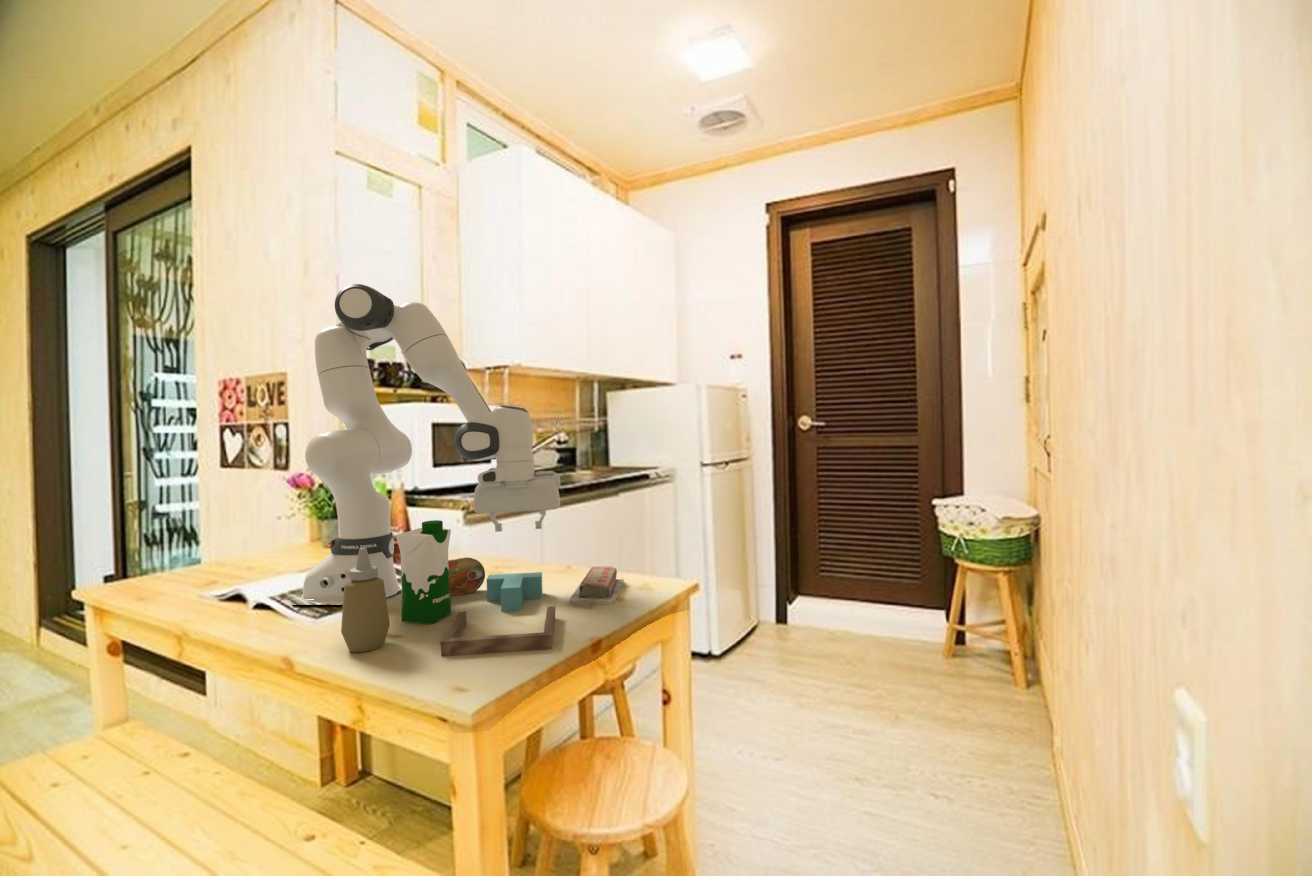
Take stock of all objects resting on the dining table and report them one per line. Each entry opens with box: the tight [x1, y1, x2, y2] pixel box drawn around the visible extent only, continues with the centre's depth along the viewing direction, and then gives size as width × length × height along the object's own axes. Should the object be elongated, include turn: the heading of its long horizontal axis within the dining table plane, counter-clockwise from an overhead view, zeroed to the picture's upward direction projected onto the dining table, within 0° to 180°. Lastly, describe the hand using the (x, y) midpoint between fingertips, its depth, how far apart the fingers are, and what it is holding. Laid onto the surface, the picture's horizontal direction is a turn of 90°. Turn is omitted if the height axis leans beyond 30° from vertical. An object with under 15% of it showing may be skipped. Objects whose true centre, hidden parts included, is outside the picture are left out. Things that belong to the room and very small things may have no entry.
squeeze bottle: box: [340, 548, 391, 653], centre depth 111 cm, size 8×8×18 cm
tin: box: [448, 556, 486, 598], centre depth 143 cm, size 15×3×8 cm, turn 119°
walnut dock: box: [440, 605, 556, 657], centre depth 116 cm, size 19×16×2 cm
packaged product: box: [568, 565, 625, 606], centre depth 143 cm, size 18×5×10 cm
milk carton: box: [395, 519, 452, 625], centre depth 127 cm, size 9×9×20 cm
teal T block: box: [486, 571, 543, 613], centre depth 136 cm, size 12×12×5 cm
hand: (518, 529), depth 148 cm, fingers open, 8 cm apart
